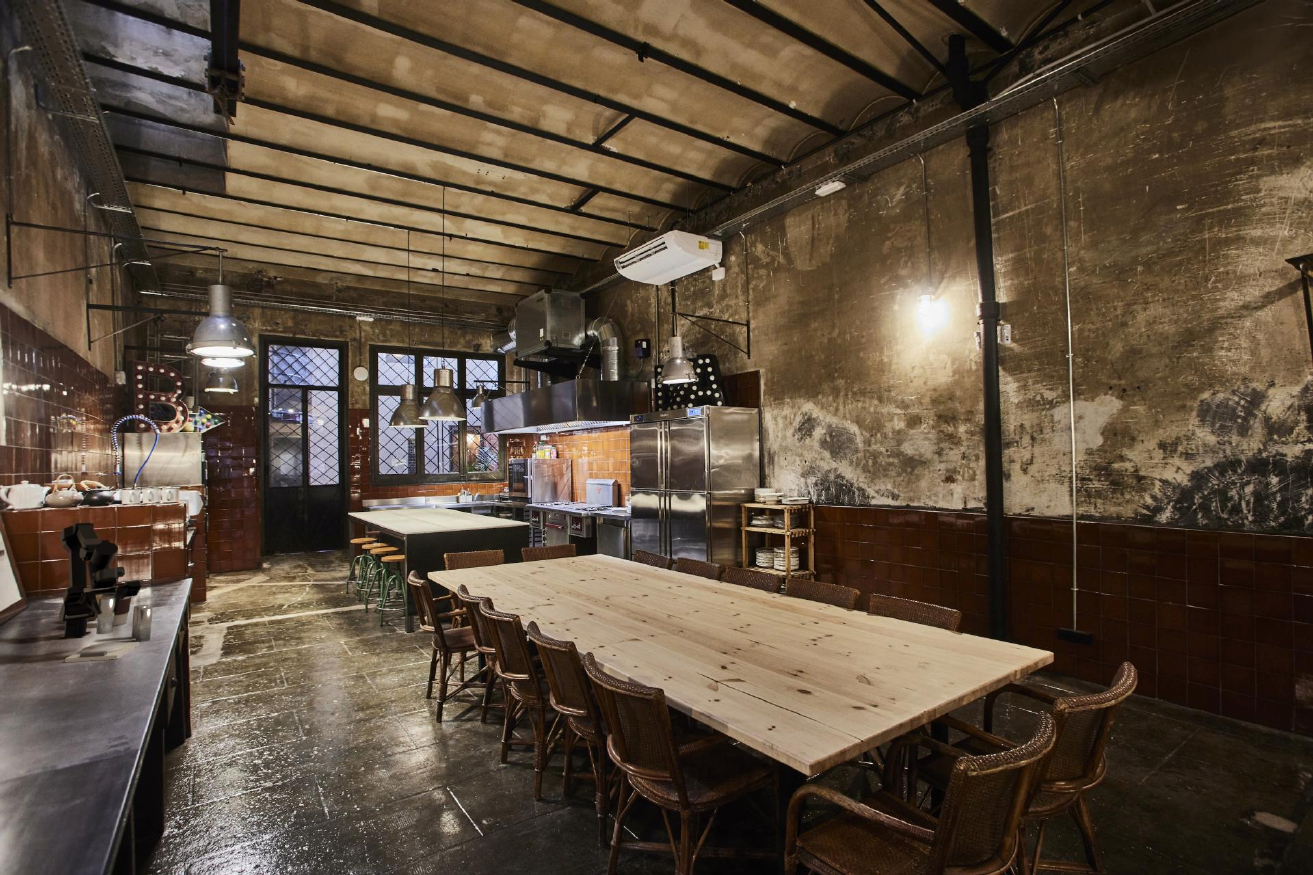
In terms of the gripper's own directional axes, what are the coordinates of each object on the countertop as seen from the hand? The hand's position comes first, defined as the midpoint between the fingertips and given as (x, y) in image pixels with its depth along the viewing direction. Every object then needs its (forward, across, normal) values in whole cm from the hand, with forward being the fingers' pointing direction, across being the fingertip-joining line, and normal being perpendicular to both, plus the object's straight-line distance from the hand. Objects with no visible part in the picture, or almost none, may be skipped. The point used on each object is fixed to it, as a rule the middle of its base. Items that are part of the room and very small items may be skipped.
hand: (107, 612), depth 201 cm
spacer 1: (+4, 0, +6) cm, 7 cm away
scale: (+9, 0, +10) cm, 13 cm away
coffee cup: (-22, +13, +41) cm, 48 cm away
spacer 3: (+2, +13, +17) cm, 21 cm away
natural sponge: (-31, +9, +51) cm, 61 cm away
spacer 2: (-2, +13, +21) cm, 25 cm away
